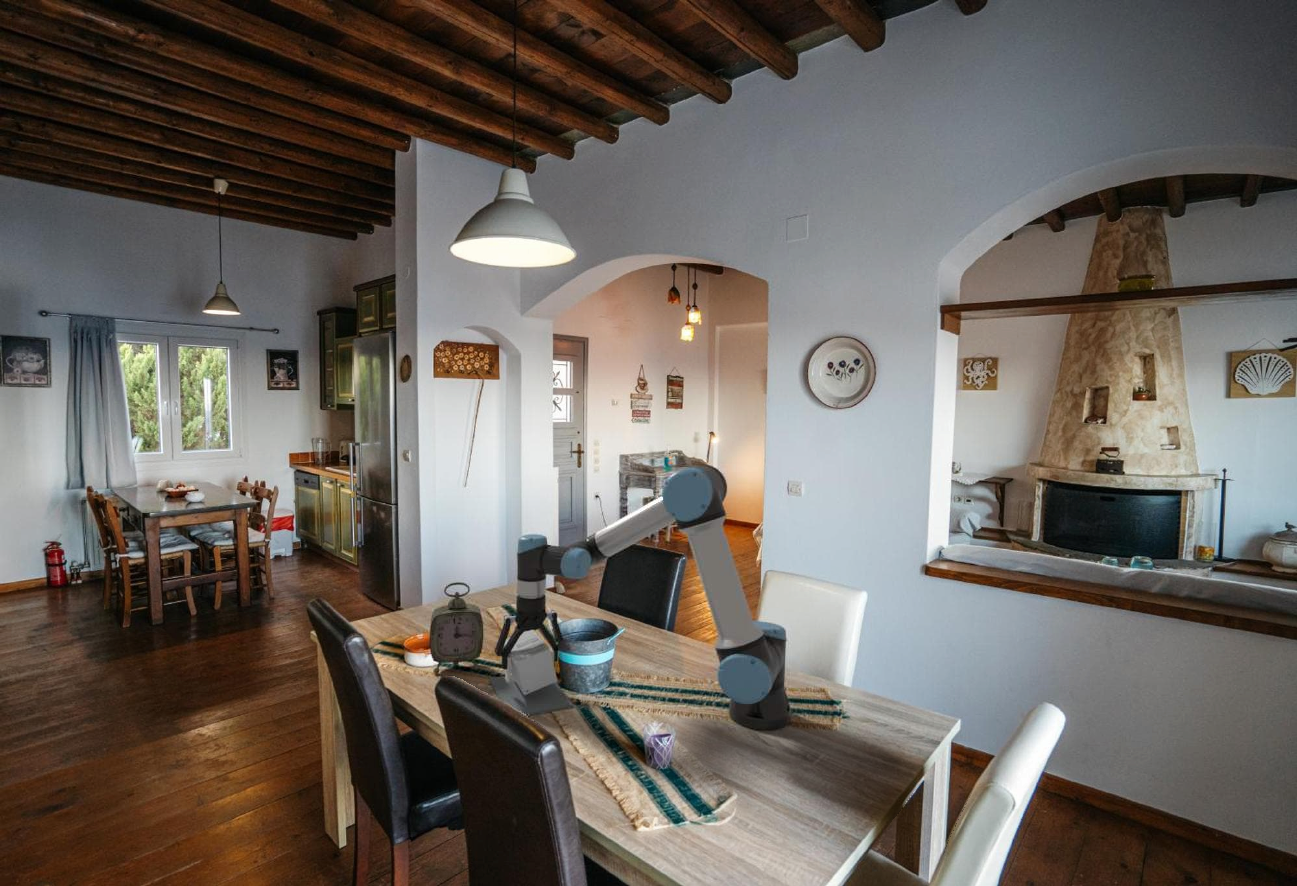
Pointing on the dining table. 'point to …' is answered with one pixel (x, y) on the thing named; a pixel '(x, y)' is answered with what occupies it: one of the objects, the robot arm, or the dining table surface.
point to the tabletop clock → (456, 631)
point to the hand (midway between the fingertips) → (529, 676)
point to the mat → (531, 697)
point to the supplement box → (531, 663)
